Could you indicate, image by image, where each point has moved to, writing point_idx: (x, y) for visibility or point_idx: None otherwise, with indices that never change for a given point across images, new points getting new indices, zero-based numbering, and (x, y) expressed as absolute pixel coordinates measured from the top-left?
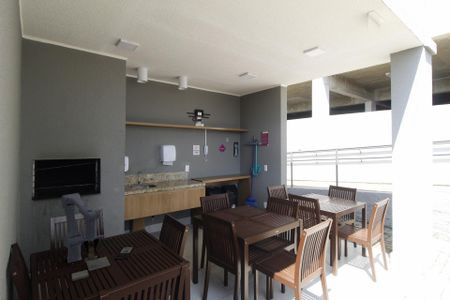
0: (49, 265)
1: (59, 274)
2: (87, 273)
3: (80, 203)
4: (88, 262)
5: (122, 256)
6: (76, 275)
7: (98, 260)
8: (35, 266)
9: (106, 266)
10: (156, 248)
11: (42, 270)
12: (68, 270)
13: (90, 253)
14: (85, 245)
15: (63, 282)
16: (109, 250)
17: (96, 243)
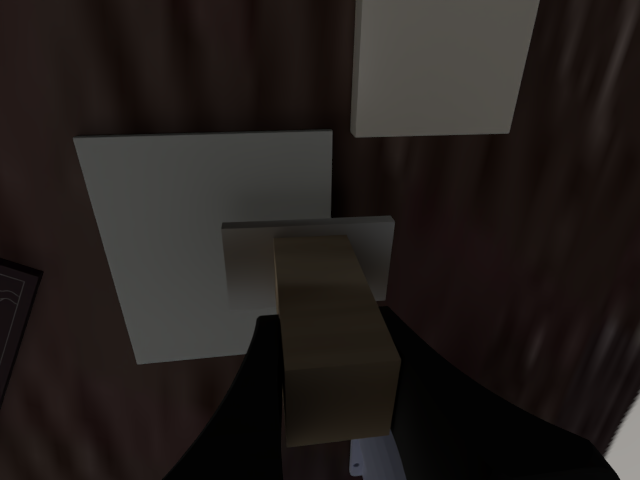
0: (558, 397)
1: (563, 221)
2: (368, 20)
3: None
4: None
5: None
6: (483, 52)
7: (217, 319)
8: (620, 415)
9: (125, 135)
10: None
11: (617, 347)
12: (486, 258)
13: (341, 290)
14: (540, 427)
15: (602, 10)
16: (112, 469)
17: (221, 459)
